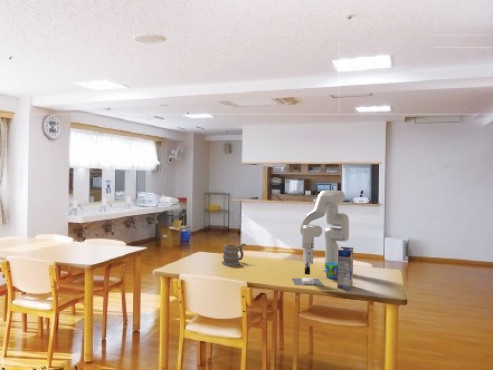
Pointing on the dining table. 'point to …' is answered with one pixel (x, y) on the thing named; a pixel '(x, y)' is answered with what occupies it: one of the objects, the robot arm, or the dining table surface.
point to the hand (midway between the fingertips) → (307, 274)
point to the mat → (316, 283)
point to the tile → (307, 280)
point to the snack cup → (331, 270)
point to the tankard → (232, 254)
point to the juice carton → (345, 268)
